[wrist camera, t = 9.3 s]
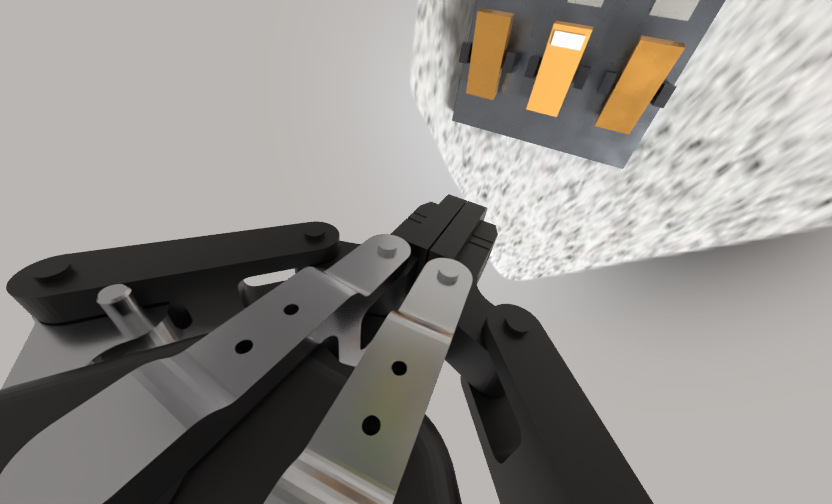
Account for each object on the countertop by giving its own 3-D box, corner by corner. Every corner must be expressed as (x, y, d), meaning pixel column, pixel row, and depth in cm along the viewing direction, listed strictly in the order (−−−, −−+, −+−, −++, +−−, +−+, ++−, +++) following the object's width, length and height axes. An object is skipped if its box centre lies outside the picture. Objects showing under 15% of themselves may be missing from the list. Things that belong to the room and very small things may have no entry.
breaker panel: (721, -8, 24) (754, -19, 19) (621, 161, 33) (626, 182, 28) (492, -37, 29) (472, -53, 24) (459, 116, 37) (439, 127, 33)
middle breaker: (594, 26, 24) (592, 30, 23) (558, 112, 30) (556, 118, 29) (556, 20, 25) (553, 24, 24) (528, 105, 30) (525, 110, 30)
